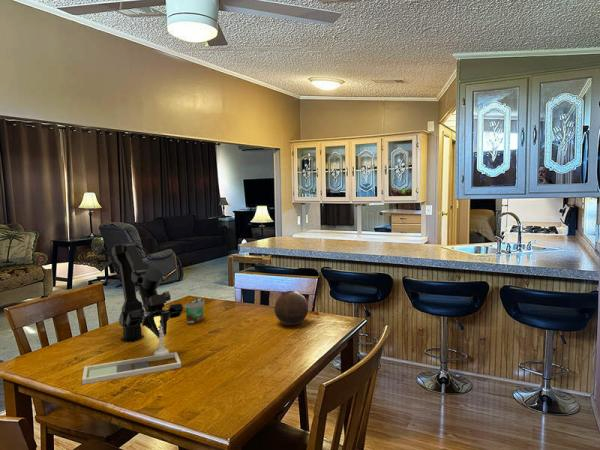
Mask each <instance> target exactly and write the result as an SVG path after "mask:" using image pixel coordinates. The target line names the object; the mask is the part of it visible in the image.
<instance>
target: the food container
mask: <svg viewBox="0 0 600 450" xmlns="http://www.w3.org/2000/svg"><path fill="white" fill-rule="evenodd" d="M184 304H185V305H184V308H185V315H186V317H185V318H186V324H187V325H190V326H191V325H197V324H201V323H202V322H203V320H204V319H203V318H204V305H205V304H206V302H205V300H204V298H203V297H200V296H199V297H198V296H196V298H195V299H194V300H191V301H190V302H189V303H188V302H187V303H184Z"/></svg>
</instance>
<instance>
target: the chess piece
mask: <svg viewBox="0 0 600 450" xmlns="http://www.w3.org/2000/svg"><path fill="white" fill-rule="evenodd" d="M162 328H163V327H161V325H160V324H159V326H157V329H158V331H159V335H160V336H159V337H157V339H158V340H159V343H158V348H157V349H156V350H154V351H153V356H163V355H166V354H168V353H170V352H169V349H168V348H165V347H164V342H163V339H165V336H164V334H163V331H164V330H162Z"/></svg>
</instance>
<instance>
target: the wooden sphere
mask: <svg viewBox="0 0 600 450" xmlns="http://www.w3.org/2000/svg"><path fill="white" fill-rule="evenodd" d="M273 307H274V314H275V317H276V318H277V320H279V321H280V323H282V324H284V325H287V326H295V325H299V324H300V323H302V322H303V321H304V320H305V319H306V317H307V315H308V313H309V304H308V301H307V299H306V298H305V296H304V295H303V294H302V293H301V292H298V291H296V290H288V291H284V292H282V293H281V294H280V295H278V297H277V298H276V301H275V302H274V306H273Z"/></svg>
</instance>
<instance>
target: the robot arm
mask: <svg viewBox="0 0 600 450" xmlns="http://www.w3.org/2000/svg"><path fill="white" fill-rule="evenodd" d="M111 254H112V256H113V259H114V262H115V263H116V264H117V265H118V266H119V272H120V277H121V285H122V291H123V298H124V301H123V304H122V307H121V311H120V315H119V318H118V322H119V325H120V326H121V327H122V329H123V330H122V331H123V337H121V338H120V340H121V341H127V342H135V341H137V340H139V339H142V338H144V335H143V334H142V327H146V328H147V329H148V330H150V332H151V333H153V334H154V335H155V336H156V337H157V338H158V337H159V336H160V335H159V331H158V330H159V328H158V326H157V325H156V321H155V318H157V317H159V318H160V320H159V325H161V327H163V328H162V330H164V331H163V336H164V337H165V336H167V330H168V329H167V327H168V321H169V320H170V319H175V318H179V317H180V316H181V315H182V313H183V311H184V308H185V307H184V306H183V304H182V303H180V302H178V303H173V304H170V305H169V307H168V308H165V304H167V302H169V301H170V300H171V293H170V291H164V292H163V293H160V294H158V291H157V289H158V288H159V286H160V282H161V281H162V278H163V273H162V271H160V269H157V268H155V266H154V265H150V264H148V263H146V262H145V261H144V260H143V258H142V256H141V254H140V252H139V249H138V248H137V243H136V242H134V241H130V242H123V243H121V244H114V246H113V247H112V248H111ZM136 285H139V287H138V295H139V296H140V298H141V300H140V301H139V299H138V298H137V292H136V291H137V290H136ZM164 308H165V309H164ZM141 326H142V327H141Z"/></svg>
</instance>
